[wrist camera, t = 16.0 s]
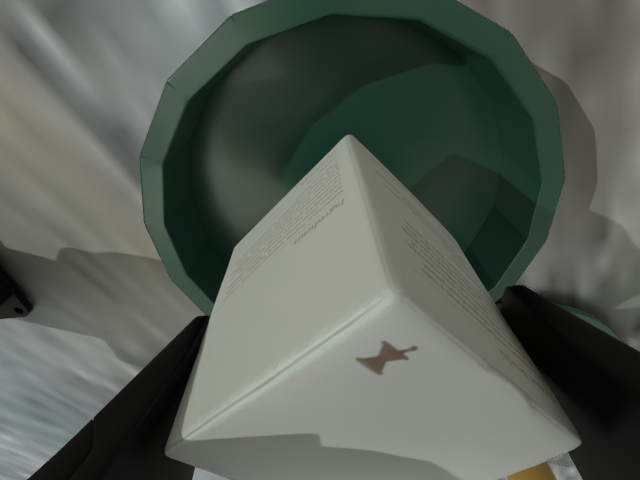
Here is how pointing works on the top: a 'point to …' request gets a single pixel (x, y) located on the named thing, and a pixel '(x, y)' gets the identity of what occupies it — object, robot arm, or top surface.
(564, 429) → the product box
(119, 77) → the top surface
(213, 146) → the dark green bowl
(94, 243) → the top surface
